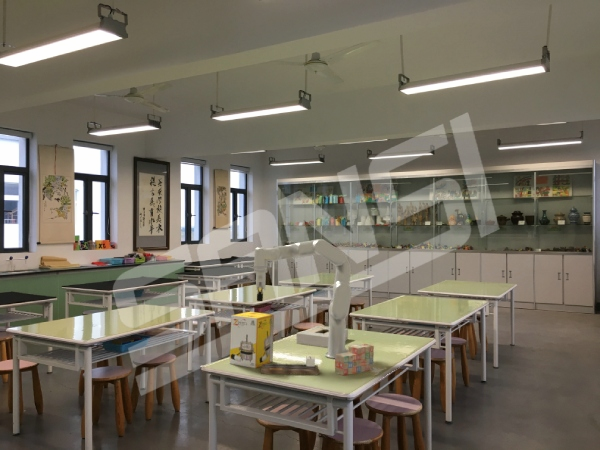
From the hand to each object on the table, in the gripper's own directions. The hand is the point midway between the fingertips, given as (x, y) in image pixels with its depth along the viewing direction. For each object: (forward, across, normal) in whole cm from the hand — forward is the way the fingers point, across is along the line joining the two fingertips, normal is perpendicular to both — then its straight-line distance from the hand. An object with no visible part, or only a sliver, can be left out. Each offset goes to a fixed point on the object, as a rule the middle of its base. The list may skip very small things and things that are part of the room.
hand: (259, 300), depth 271 cm
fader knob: (+29, -33, -26) cm, 51 cm away
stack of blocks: (+31, -30, -49) cm, 66 cm away
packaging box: (+31, -16, +3) cm, 35 cm away
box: (+32, +40, -41) cm, 66 cm away
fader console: (+31, -33, -16) cm, 48 cm away
